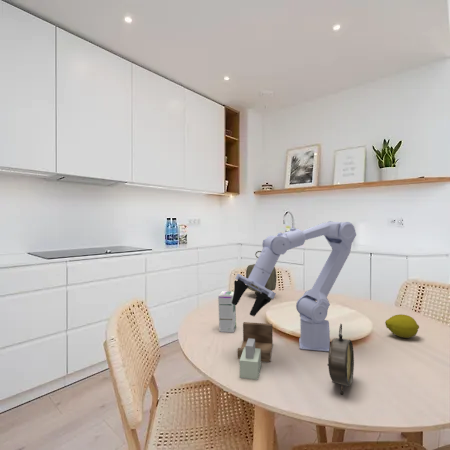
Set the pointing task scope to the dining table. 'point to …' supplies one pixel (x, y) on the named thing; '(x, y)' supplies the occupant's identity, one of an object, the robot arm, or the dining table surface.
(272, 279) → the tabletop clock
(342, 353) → the alarm clock
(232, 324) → the syrup box
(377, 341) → the dining table surface
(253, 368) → the pale grey boxy piece
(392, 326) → the lemon
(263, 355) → the cleat board
